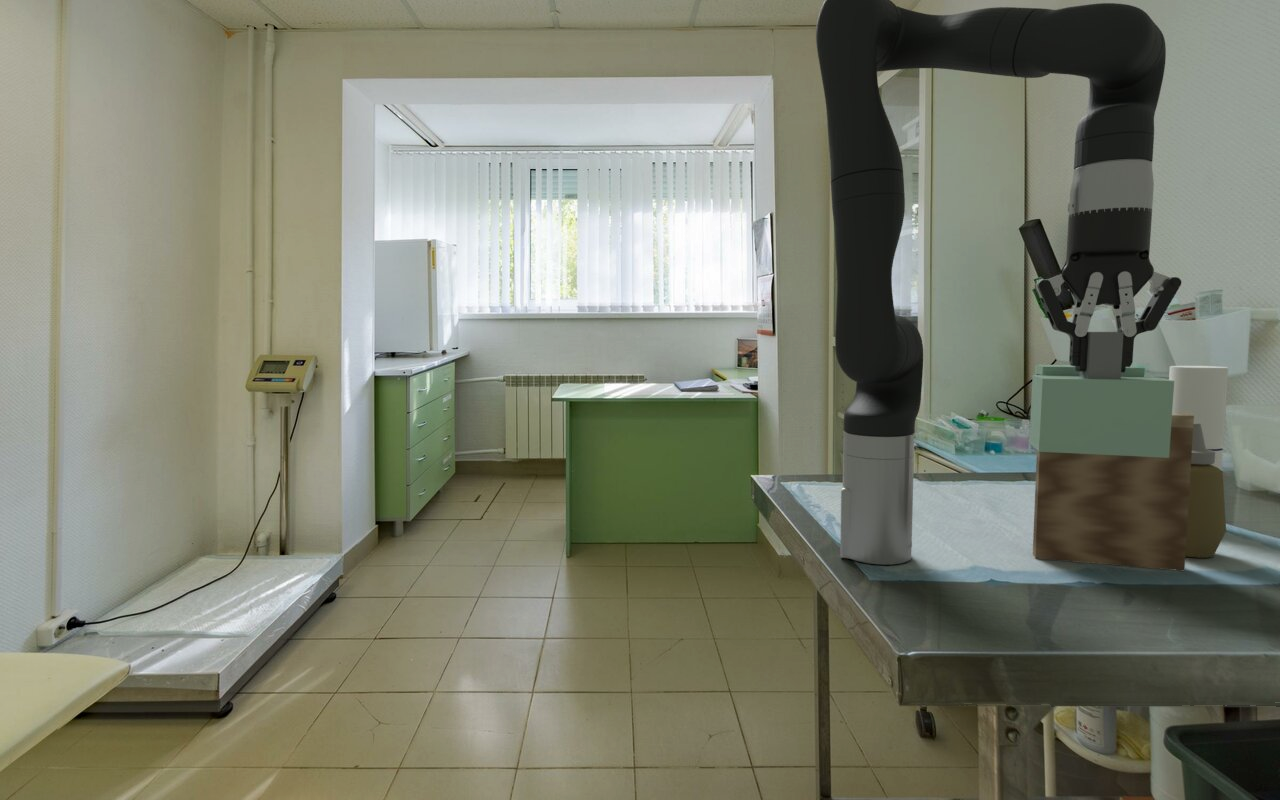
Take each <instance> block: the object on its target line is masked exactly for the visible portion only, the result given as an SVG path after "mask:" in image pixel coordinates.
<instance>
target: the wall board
mask: <svg viewBox="0 0 1280 800" xmlns="http://www.w3.org/2000/svg"><path fill="white" fill-rule="evenodd" d="M1193 423H1194V416H1193V415H1189V414H1172V422H1171V436H1170V451H1169V458H1163V457H1141V456H1120V455H1099V454H1078V453H1057V452H1039V451H1038V450H1036V466H1035V487H1034V488H1035V490H1034V512H1033V513H1034V514H1033V517H1034V518H1033V533H1032V534H1033V536H1032V537H1033V539H1032V556H1033V557H1034V558H1035V559H1039V560H1050V561H1063V562H1074V563H1075V562H1077V563H1085V562H1089V564H1097V563H1100V565H1111V566H1123V567H1124V566H1125V567H1134V568H1137V567H1138V568H1147V569H1157V568H1160V570H1169V569H1176V570H1175V571H1181V570H1184V571H1185V567H1186V556H1185V553H1186V537H1187V521H1188V504H1189V488H1190V472H1191V456H1192V439H1193ZM1161 568H1162V569H1161Z"/></svg>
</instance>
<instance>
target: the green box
mask: <svg viewBox="0 0 1280 800" xmlns="http://www.w3.org/2000/svg"><path fill="white" fill-rule="evenodd" d="M1086 338H1088V352H1087V369H1086V372H1078V371H1076V370H1075V366H1071V364H1034V374H1032V381H1031V382H1032V383H1031V401H1030V421H1029V439H1028V440H1029V442H1028V443H1029V444H1030V445H1031V446H1032V447H1033V448H1034V449H1035V450H1036V451H1037V450H1038V451H1039V452H1057V453H1078V454H1099V455H1120V456H1141V457H1163V458H1169V451H1170V436H1171V422H1172V408H1173V394H1174V381H1172V380H1169V379H1166V378H1162V377H1161V378H1160V377H1157V376H1156V377H1155V376H1145V367H1140V366H1135V365H1131V366H1130V367H1126V370H1125V372H1121V364H1122V348H1123V332H1117V331H1088V332H1087V334H1086Z"/></svg>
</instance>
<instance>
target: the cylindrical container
mask: <svg viewBox="0 0 1280 800" xmlns="http://www.w3.org/2000/svg"><path fill="white" fill-rule="evenodd" d="M1168 374H1169V375H1168V380H1172V381H1174V394H1173V408H1172V414H1189V415H1193V416H1194V423H1198V424H1201V428H1202V433H1203V438H1204V442H1205V447H1206V449H1207V450H1212V451H1214V452H1215V463H1214V464H1210V465H1213V466H1215V467H1217V468H1219V469H1220V470H1221V471H1223V470H1222V469H1223V454H1224V441H1225V424H1226V410H1227V408H1226V407H1227V397H1228V396H1227V395H1228V379H1229V367H1228V366H1218V365H1217V366H1216V365H1170V366H1169V373H1168Z"/></svg>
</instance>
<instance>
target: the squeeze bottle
mask: <svg viewBox="0 0 1280 800" xmlns="http://www.w3.org/2000/svg"><path fill="white" fill-rule="evenodd" d="M1214 463H1215V452H1214V451H1212V450H1207V449H1206V447H1205V442H1204V438H1203V433H1202V428H1201V424H1198V423H1193V439H1192V456H1191V472H1190V488H1189V504H1188V521H1187V537H1186V553H1185V557H1186V558H1187V557H1188V558H1211V557H1214V555H1215V554H1216V552H1217V550H1218V548H1219V547H1220V545H1221V542H1222V540H1223V538H1224V536H1225V534H1226V532H1227V522H1226V521H1227V520H1226V507H1225V506H1226V503H1225V501H1226V500H1225V491H1224V490H1225V487H1224V474H1223V473H1224V472H1223V470H1222V471H1221V470H1220V469H1219V468H1217V467H1215V466H1213V465H1210V464H1214Z"/></svg>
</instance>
